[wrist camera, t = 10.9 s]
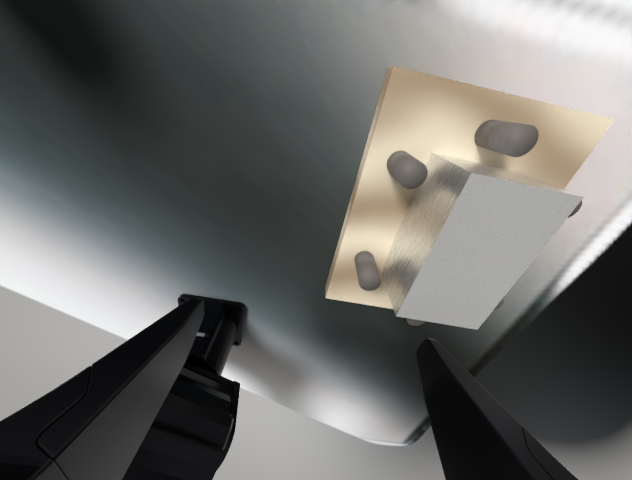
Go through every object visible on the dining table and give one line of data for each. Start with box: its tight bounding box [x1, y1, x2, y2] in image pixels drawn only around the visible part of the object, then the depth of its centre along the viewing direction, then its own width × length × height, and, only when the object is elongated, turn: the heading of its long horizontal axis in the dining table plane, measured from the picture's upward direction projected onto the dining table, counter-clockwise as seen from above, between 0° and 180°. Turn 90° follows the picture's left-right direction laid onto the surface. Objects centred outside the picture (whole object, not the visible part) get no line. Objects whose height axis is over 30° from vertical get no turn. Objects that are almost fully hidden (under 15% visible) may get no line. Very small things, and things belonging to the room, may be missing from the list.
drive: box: [381, 152, 584, 330], centre depth 17 cm, size 10×6×5 cm, turn 169°
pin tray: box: [325, 66, 615, 326], centre depth 18 cm, size 18×14×4 cm
